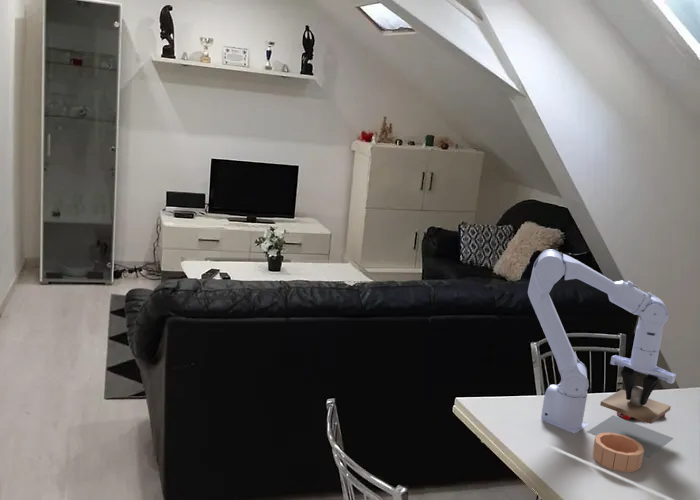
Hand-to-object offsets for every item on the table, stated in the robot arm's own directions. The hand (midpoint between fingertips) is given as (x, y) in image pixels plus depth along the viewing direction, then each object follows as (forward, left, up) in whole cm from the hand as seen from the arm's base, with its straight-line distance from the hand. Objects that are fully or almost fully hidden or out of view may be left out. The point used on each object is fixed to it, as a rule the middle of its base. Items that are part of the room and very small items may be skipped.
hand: (636, 401), depth 161 cm
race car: (-3, +14, -10) cm, 17 cm away
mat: (0, 0, -9) cm, 9 cm away
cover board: (0, 0, -2) cm, 2 cm away
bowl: (+3, -15, -9) cm, 18 cm away
